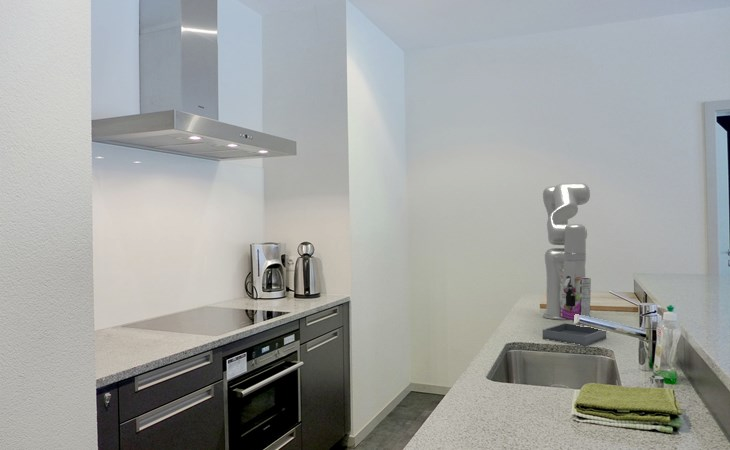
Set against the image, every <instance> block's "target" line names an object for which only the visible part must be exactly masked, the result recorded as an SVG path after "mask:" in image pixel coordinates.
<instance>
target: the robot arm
mask: <svg viewBox="0 0 730 450" xmlns="http://www.w3.org/2000/svg"><path fill="white" fill-rule="evenodd" d="M590 191H591V190H590V188H589V186H588V184H586V183H583V182H565V183H558V184H556V186H547V187H545V188H544V189H543V192H542V199H543V203H544V207H545V209H546V212H547V220H546V221H547V224H546V229H547V236H548V237H547V239H548V243H549V244H551V245H553V246H563V248H562V247H554V248H553V247H552V248H550V249H547V250H546V251H545V254H544V264H545V269H546V271H545V272H546V312H545V313H543V314H542V316H543V318H545V319H548V320H549V319H550V320H560V321H561V320H563V321H565V320H568V319H565V318H561V317H560V276H561V275H563V280H562V286H563V287H564V289H565V292H566V293H565V295H566V306H572V307H574V306H575V296H574V291H575V288H576V282H577V278H579V277H586V263H587V261H586V260H587V259H586V257H587V256H586V255H587V253H586V252H587V251H586V248H587V245H586V244H587V243H586V242H587V238H588V230H587V228H586V226H585V225H583V224H580V223H576V224H575V223H572V224H571V223H569V222H568V221H569V219H572V218H573V217H575V216H576V215H577V214H578V210H579V207H578V206H582V205H584V204H587V203H588V202H589V201H590V197H591V192H590ZM569 286H572V287H569ZM570 289H572V292H571V290H570Z"/></svg>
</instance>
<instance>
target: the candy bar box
mask: <svg viewBox="0 0 730 450" xmlns="http://www.w3.org/2000/svg"><path fill="white" fill-rule="evenodd" d="M562 280H563V275H561V276H560V317H561V318H565V319H567V320H570V321H574V315H575V314H579V315H585V316H589V317H590V318H591V278H590V277H587V276H585V277H579V278H577V282H576V288H575V291H574V296H575V306H574V307H572V306H566V295H565V293H566V292H565V289H564V287H563V286H562ZM569 287H572V286H569ZM570 290H571V292H572V289H570ZM574 322H575V321H574Z"/></svg>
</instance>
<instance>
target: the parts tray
mask: <svg viewBox="0 0 730 450" xmlns="http://www.w3.org/2000/svg"><path fill="white" fill-rule="evenodd" d="M576 325H577V324H573V323H566V322H565V323H561V324H558V325H555V326H551V327H548V328H544V329H542V340H546V339H549V340H548V341H551V340H555V341H554V342H557V341H561V342H560V343H563V342H567V343H566V344H569V343H575V344H580V345H583V346H582V347H587V346H586V345H588V346H590V345H592V343H593V344H595V343H598V342H600V341H603V340H605V339H607V330H606V331H602V330H598V329H594V328H595V327H594V328H591V327H592V326H588V327H580V326H576ZM589 344H590V345H589ZM580 345H579V346H580Z"/></svg>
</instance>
